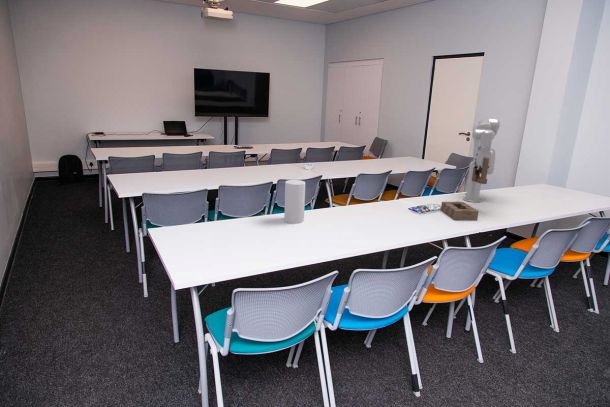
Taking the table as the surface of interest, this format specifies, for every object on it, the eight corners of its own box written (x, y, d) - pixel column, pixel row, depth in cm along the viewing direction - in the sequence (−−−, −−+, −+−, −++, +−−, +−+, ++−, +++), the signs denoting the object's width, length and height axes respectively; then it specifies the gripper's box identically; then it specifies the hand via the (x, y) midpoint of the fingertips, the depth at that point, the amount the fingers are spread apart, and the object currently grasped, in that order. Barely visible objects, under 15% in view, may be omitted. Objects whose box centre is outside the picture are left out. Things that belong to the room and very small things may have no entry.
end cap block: (440, 210, 288) (441, 201, 287) (461, 210, 290) (463, 201, 288) (454, 220, 267) (456, 210, 266) (477, 220, 269) (478, 211, 267)
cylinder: (300, 216, 262) (301, 179, 255) (306, 222, 251) (308, 184, 244) (281, 217, 258) (282, 180, 251) (287, 224, 247) (288, 184, 240)
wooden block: (475, 180, 286) (479, 155, 281) (486, 184, 276) (490, 158, 271) (471, 180, 285) (475, 155, 280) (482, 184, 275) (486, 158, 270)
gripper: (475, 149, 269) (471, 176, 274) (499, 150, 271) (494, 176, 276) (470, 148, 276) (466, 173, 281) (492, 148, 279) (488, 174, 284)
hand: (480, 174), depth 279 cm, fingers closed on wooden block, 4 cm apart
